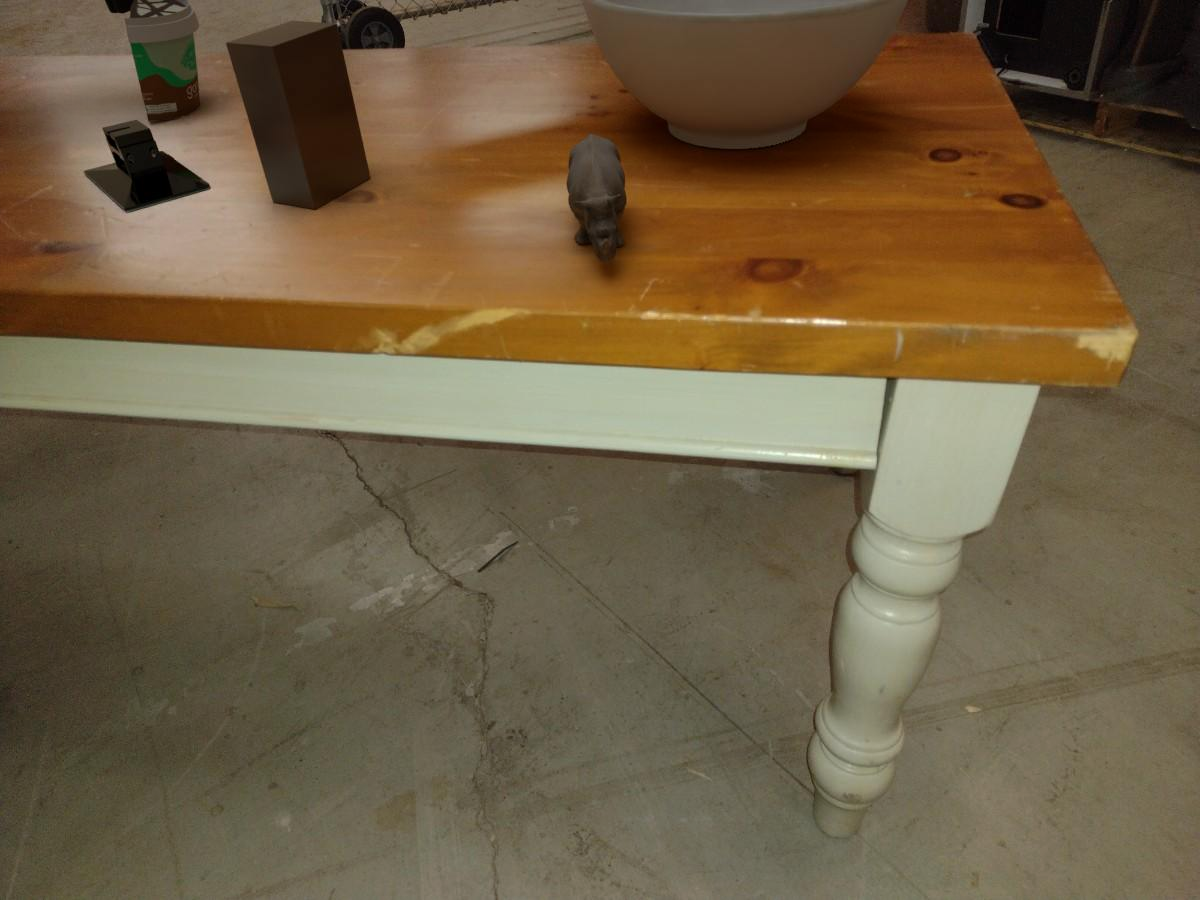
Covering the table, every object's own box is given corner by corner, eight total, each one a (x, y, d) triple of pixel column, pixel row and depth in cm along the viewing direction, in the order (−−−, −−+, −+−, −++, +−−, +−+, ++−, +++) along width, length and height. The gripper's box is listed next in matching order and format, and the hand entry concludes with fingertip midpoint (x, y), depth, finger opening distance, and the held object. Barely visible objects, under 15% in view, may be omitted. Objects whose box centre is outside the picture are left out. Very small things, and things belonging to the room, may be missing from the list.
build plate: (84, 175, 78) (62, 122, 75) (166, 154, 81) (148, 103, 78) (126, 212, 70) (102, 154, 67) (214, 187, 73) (196, 131, 70)
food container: (213, 126, 89) (195, 21, 83) (147, 126, 87) (123, 19, 81) (211, 84, 98) (195, -14, 91) (151, 84, 96) (130, -16, 89)
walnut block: (272, 202, 70) (225, 42, 63) (329, 172, 75) (292, 20, 67) (315, 209, 68) (272, 46, 61) (371, 178, 73) (337, 23, 66)
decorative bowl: (629, 80, 92) (626, -50, 84) (893, 87, 85) (914, -53, 78) (549, 172, 72) (535, 12, 64) (886, 191, 65) (914, 15, 58)
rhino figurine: (572, 289, 56) (565, 198, 52) (569, 204, 66) (563, 125, 63) (635, 284, 56) (633, 194, 52) (622, 201, 66) (619, 121, 63)
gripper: (-55, -196, 79) (51, 19, 92) (55, -207, 74) (151, 22, 86) (15, -208, 84) (106, -3, 96) (123, -220, 79) (205, -1, 91)
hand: (127, 9), depth 91 cm, fingers closed
